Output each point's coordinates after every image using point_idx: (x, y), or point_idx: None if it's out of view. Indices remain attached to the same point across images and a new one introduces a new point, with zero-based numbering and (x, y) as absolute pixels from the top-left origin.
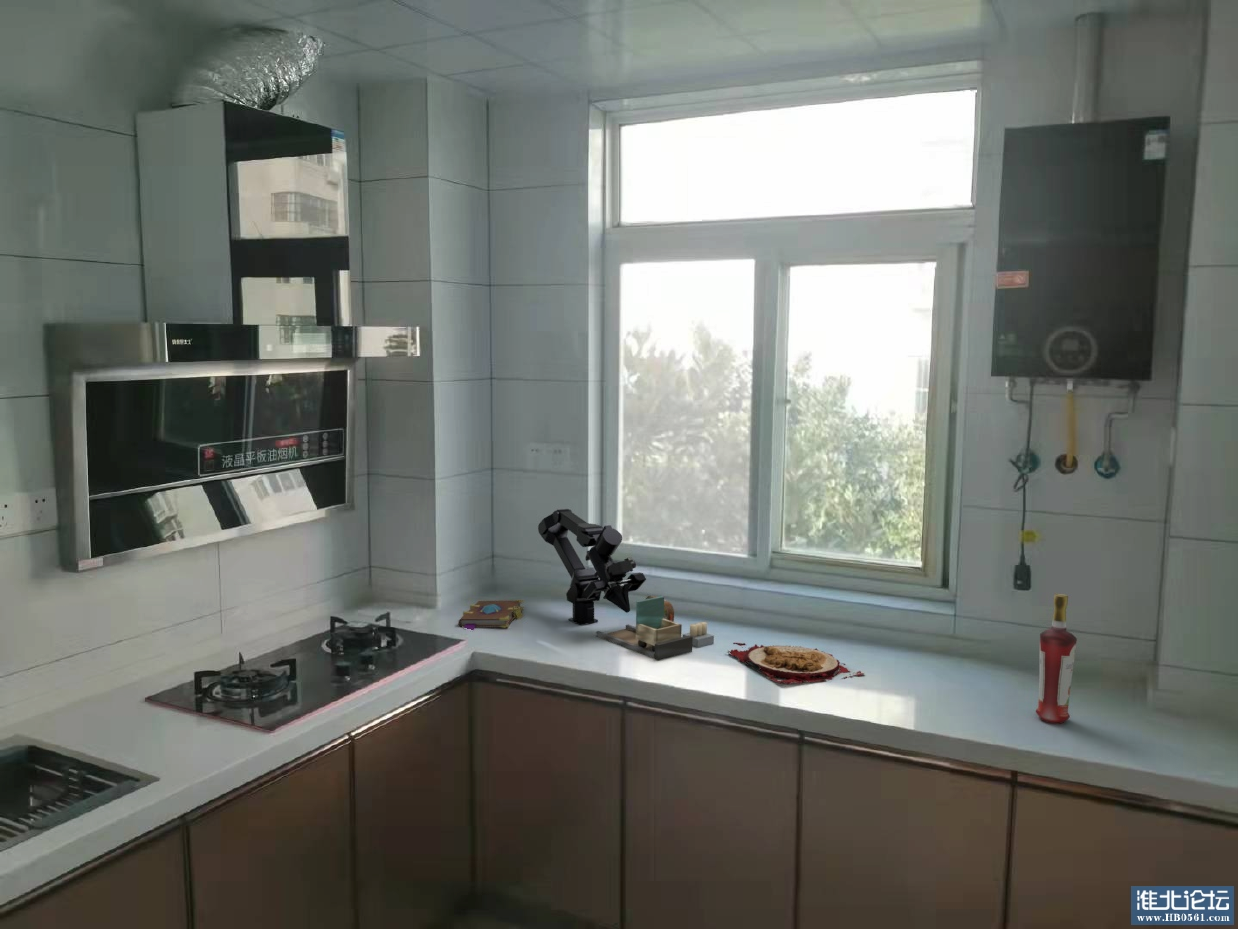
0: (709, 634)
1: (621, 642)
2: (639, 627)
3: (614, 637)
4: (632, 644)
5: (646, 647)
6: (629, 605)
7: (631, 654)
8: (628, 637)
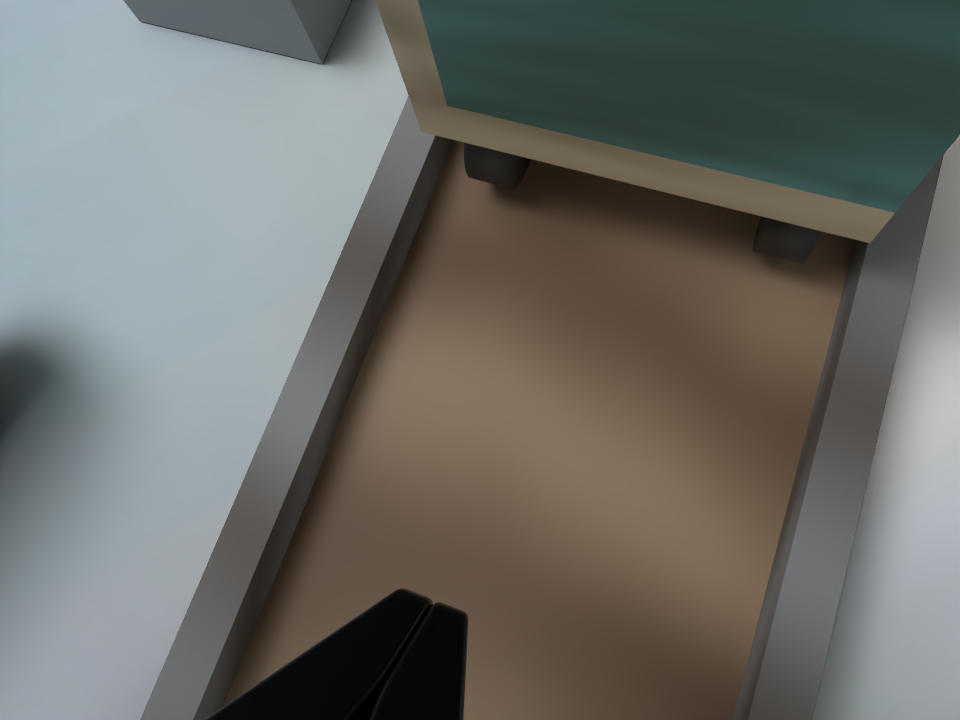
0: None
1: (856, 501)
2: None
3: (778, 690)
4: (878, 302)
5: (699, 222)
6: (317, 647)
7: (926, 298)
8: (479, 612)
